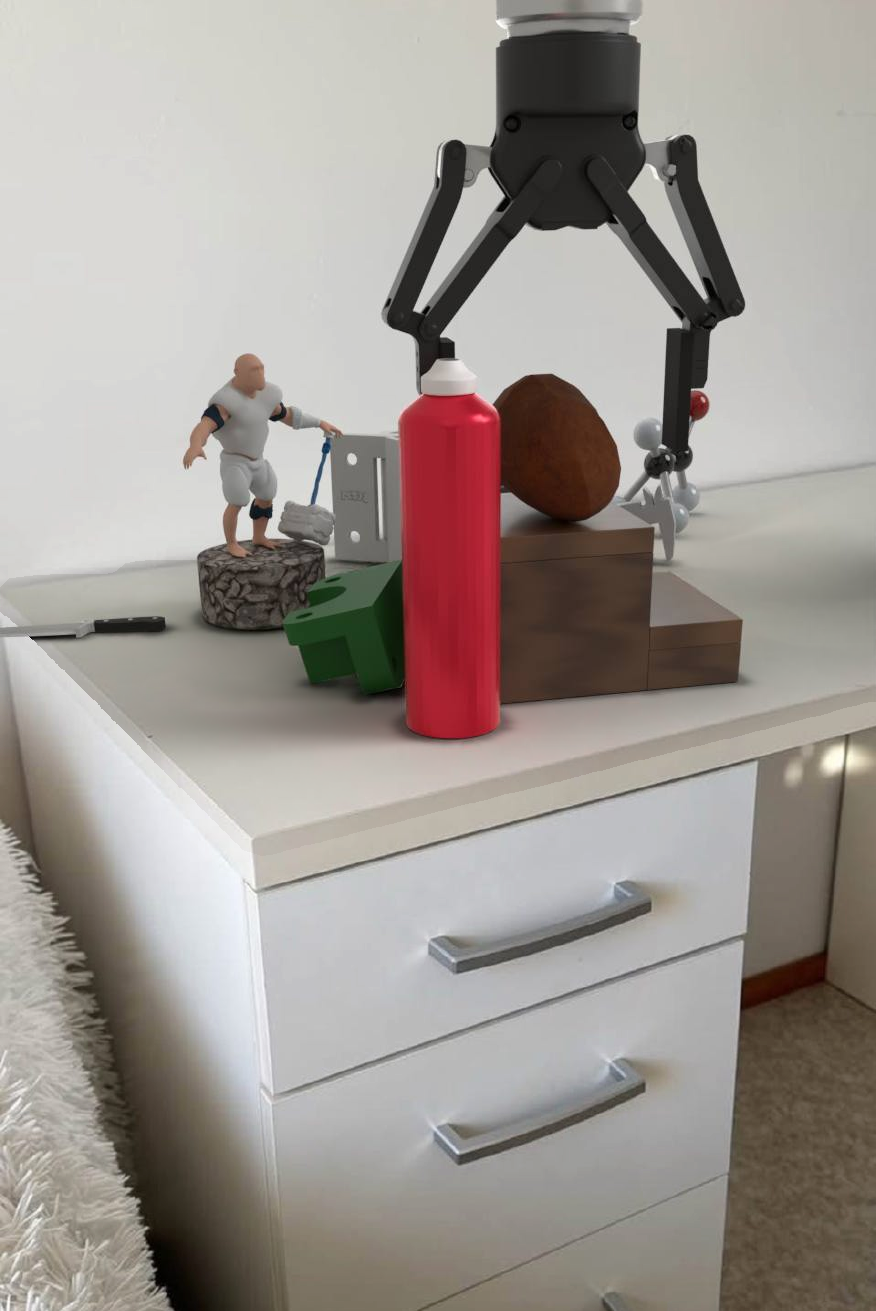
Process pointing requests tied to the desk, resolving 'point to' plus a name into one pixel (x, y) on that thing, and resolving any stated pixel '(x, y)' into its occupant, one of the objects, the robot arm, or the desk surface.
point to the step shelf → (601, 611)
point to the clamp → (353, 628)
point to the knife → (87, 627)
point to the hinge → (366, 496)
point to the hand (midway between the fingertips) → (561, 454)
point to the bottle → (451, 554)
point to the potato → (556, 449)
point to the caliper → (656, 516)
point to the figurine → (258, 508)
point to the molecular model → (668, 463)
